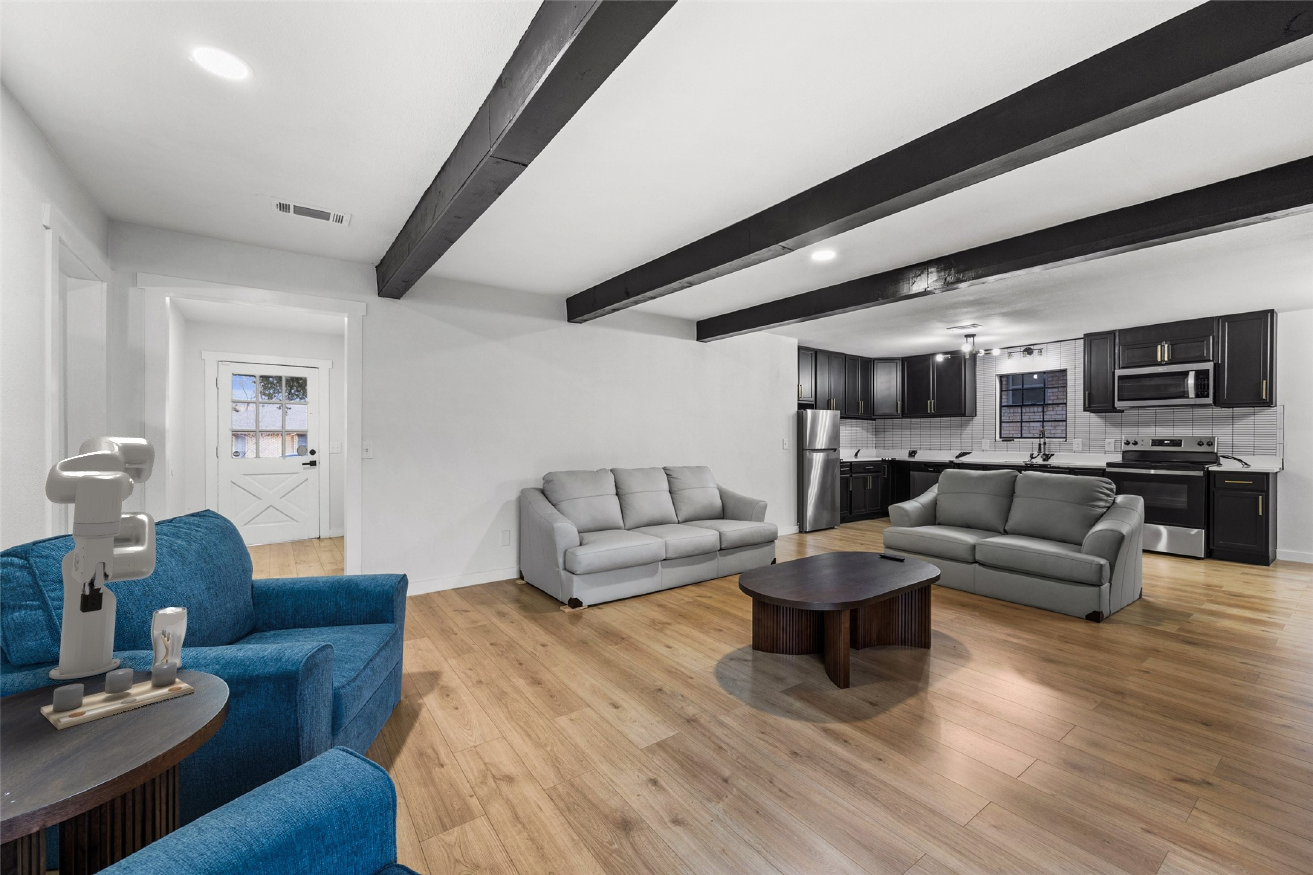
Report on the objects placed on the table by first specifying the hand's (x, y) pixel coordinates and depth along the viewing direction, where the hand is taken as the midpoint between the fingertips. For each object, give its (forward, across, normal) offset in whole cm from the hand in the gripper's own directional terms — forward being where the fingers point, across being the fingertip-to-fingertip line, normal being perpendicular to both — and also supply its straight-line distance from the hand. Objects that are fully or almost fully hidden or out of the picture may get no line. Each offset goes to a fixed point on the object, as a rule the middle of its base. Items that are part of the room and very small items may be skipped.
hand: (90, 610), depth 123 cm
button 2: (+19, +4, +13) cm, 23 cm away
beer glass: (+21, -10, +17) cm, 29 cm away
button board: (+20, +7, +5) cm, 22 cm away
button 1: (+19, +5, -3) cm, 20 cm away
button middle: (+18, +5, +5) cm, 19 cm away
